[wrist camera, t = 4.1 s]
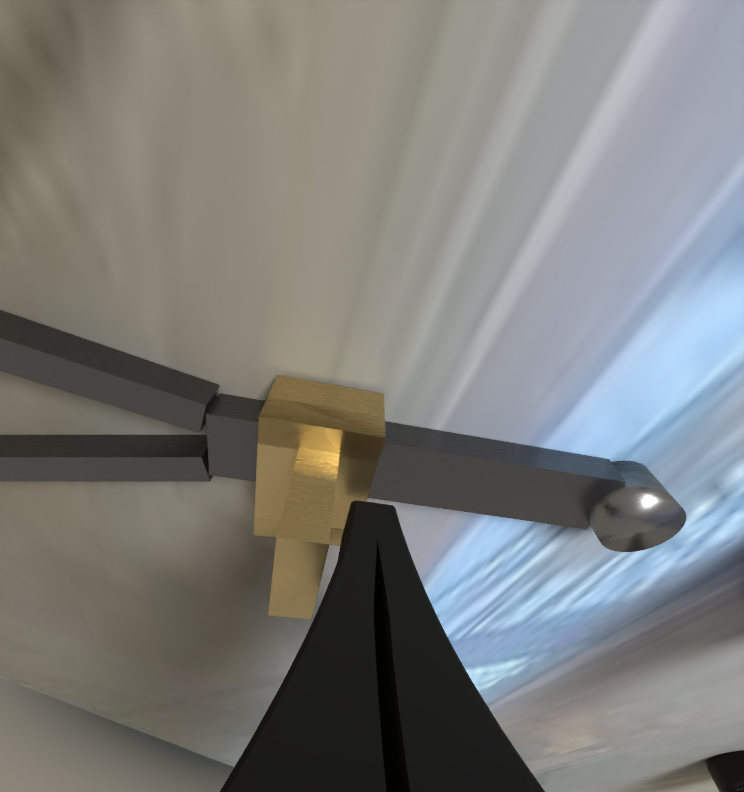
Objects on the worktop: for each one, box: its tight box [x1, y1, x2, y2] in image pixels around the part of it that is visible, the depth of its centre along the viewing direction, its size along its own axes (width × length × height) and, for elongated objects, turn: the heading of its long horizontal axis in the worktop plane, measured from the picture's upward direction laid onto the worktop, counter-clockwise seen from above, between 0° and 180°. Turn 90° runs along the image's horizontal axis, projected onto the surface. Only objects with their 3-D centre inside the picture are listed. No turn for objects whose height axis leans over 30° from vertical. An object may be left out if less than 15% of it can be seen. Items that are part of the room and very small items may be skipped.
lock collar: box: [253, 375, 386, 619], centre depth 11 cm, size 4×5×5 cm, turn 168°
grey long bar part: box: [0, 310, 686, 552], centre depth 13 cm, size 30×9×2 cm, turn 78°
